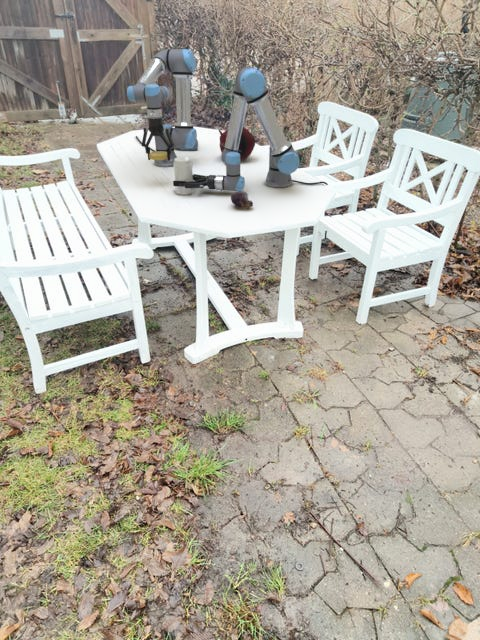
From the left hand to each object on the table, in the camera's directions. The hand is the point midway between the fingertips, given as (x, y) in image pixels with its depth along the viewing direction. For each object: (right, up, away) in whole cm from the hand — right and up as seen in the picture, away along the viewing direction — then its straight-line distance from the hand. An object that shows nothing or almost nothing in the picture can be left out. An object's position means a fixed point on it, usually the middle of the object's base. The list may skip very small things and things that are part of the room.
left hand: (159, 159), depth 251 cm
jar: (+15, -19, -3) cm, 24 cm away
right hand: (+10, -13, -6) cm, 18 cm away
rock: (+46, -33, -24) cm, 61 cm away
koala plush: (+6, +35, +76) cm, 84 cm away
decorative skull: (+43, +19, +51) cm, 69 cm away
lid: (0, +3, -2) cm, 3 cm away
